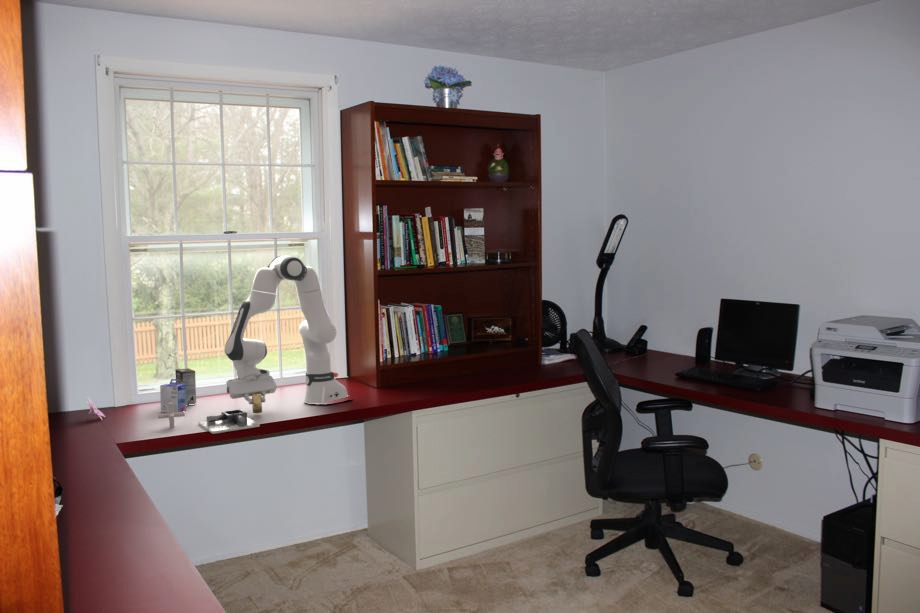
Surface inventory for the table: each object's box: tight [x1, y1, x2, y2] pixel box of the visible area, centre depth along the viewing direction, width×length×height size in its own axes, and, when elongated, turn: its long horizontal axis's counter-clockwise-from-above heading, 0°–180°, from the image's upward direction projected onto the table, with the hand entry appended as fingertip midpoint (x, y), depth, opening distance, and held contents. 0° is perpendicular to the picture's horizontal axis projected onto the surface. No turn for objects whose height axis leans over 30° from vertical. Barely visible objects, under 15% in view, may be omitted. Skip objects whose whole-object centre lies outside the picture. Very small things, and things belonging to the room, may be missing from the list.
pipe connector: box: [157, 403, 186, 429], centre depth 300 cm, size 10×10×10 cm
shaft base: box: [197, 408, 261, 435], centre depth 302 cm, size 19×19×4 cm
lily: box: [83, 397, 106, 422], centre depth 314 cm, size 12×12×10 cm
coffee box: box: [174, 368, 197, 405], centre depth 344 cm, size 9×6×16 cm
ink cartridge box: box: [159, 378, 187, 413], centre depth 328 cm, size 10×6×14 cm, turn 71°
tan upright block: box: [251, 393, 263, 414], centre depth 319 cm, size 4×4×8 cm
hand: (257, 402), depth 319 cm, fingers closed on tan upright block, 4 cm apart
